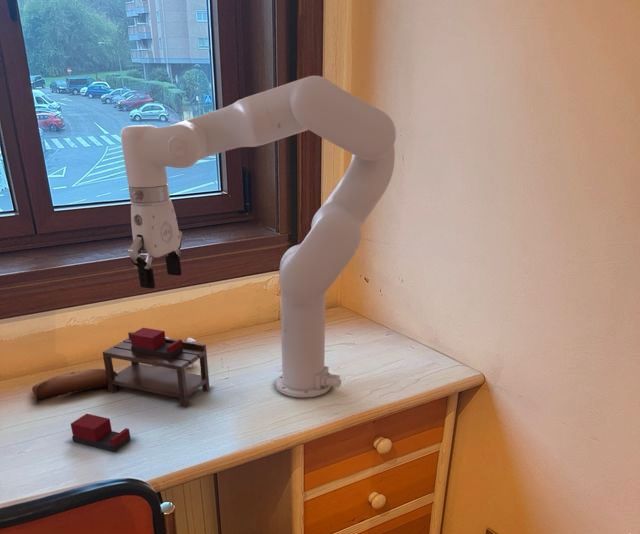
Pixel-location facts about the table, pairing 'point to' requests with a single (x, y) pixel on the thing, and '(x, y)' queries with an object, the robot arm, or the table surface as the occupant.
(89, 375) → the sunglasses case
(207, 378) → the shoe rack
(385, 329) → the table surface
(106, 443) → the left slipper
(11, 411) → the table surface
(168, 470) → the table surface
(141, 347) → the right slipper
